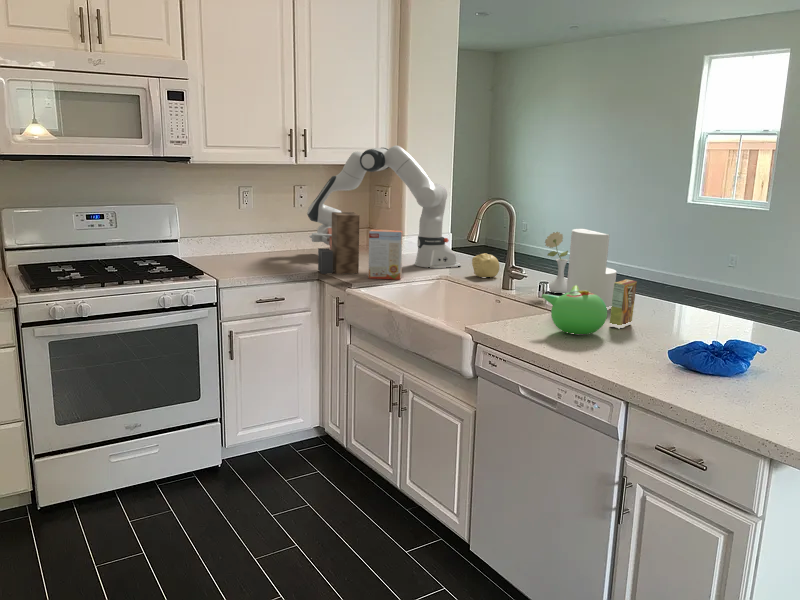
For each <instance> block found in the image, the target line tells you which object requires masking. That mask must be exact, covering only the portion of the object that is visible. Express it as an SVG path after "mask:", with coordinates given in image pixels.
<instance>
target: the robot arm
mask: <svg viewBox="0 0 800 600" xmlns="http://www.w3.org/2000/svg"><path fill="white" fill-rule="evenodd" d="M389 168H390V169H391V171H393V172H394V173H395V174H396V176H397V177H399V179H400V180H401V182H403V183H404V185H406V187H407V188H408V190H409V191H410V192H411V194H412V196H413V197H414V198H415V200H416V202H417V204H418V205H419V206H420V207H422V210H421V214H420V217H419V224H418V225H419V226H418V228H419V229H418V230H419V231H418V236H417V253H416V258H415V262H414V266H417V267H421V268H428V267H430V269H447V268H446V267H451V268H459V267H458V266H461V267H462V264H461V263H460V262H458V261H457V260H458V259H457V255H456V253H455V252H454V250H452V249H451V248H450V247H449V246H448V245H446V243H448V242H449V239H448V237H444V236H443V221H444V215H445V210H446V203H447V198H448V191H447V188H445V187H444V186H443V185H442V184H440V183H433V181H431V179H430V178H429V177H428V174H427V173H426V171H425V169H424V168H423V167H422V165H421V164H419V163H418V161H417V160H416V159H415V158H414V157H413V156H412V155H411V153H409V152H408V151H407V150H405V148H403V147H402V146H400V145H393V146H391V147H389V148H386V147H373V148H370V149H366V150H365V151H363V152H362V151H354V152H352V153H351V154H350V155H349V157H348V158H347V160H346V162H345V164H344V165H343V168H342V170H341V171H340V172H339V173H338V174H336V175H332V176H331V177H330V178H329V179H328V181H327V182H326V183H325V185H324V186H323V187H322V189H321V191H320V192H319V193H318V194H317V196H316V197H315V199H314V200H313V201H312V202H311V204H310V205H309V207H308V209H307V211H306V212H307V213H306V214H307V216H308V219H309V220H310V221H311V222H315V223H318V224H321V225H319V226H318V228H317V230H316V232H312V233H311V234H310V235H309V238H310V239H311V242H313V243H324V244H326V245H328V246H330V245H329V242H330V241H329V239H330V236H332V234H328V228H332V212H343V211H342V210H340V209H337V208H335V207H332V206H329V205H326V204H325V202H326V201H327V200H328V198H329V196H330V195H331V194H332V193H333V192H336V191H353V190H355V189H356V190H357V188H359V186H361V184H362V181H363V179H364V177H365V175H366V173H367V172H370V173H374V172H381V171H384V170H386V169H389Z"/></svg>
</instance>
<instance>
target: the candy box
mask: <svg viewBox="0 0 800 600" xmlns="http://www.w3.org/2000/svg"><path fill="white" fill-rule="evenodd" d="M637 283H638V281H637V280H632V279H626V278H625V279H622V280H620V281H615V283H614V290H613V298H612V307H611V310H610V317H609V323H612V324H617V325H622V324H626V323H628V322H631V321H632V322H633V315H634V309H635V299H636V294H637V293H636V292H637Z"/></svg>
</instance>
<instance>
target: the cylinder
mask: <svg viewBox="0 0 800 600" xmlns="http://www.w3.org/2000/svg"><path fill="white" fill-rule="evenodd" d="M609 242H610V234H608V233H604V232H599V231H595V230H590V229H586V228H573V229H571V237H570V246H569V247H570V248H569V258H568V269H567V270H568V272H567V280H566V281H567V291H566V293H568V292H570V291H571V289H572V288H573V286H575V285H577V286H578V288H579V290H582V291H589V292H591V293H593V294H595V295H597V296H599V297H600V298H601V299H602V300H603V302H604V303H605V305H606V307H609V306H612V298H613V290H614V283H615V282H617V281H616V280H617V279H616V278H617V270H616V269H614V268H610V267H607V263H608V253H609V246H610V245H609Z"/></svg>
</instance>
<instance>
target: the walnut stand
mask: <svg viewBox="0 0 800 600" xmlns="http://www.w3.org/2000/svg"><path fill="white" fill-rule="evenodd" d="M331 251H333V273H335V274H336V275H343V274H342V273H357V274H359V273H360V272H359V269H360V268H359V266H360V265H359V261H360V214H358V213H355V212H351V211H350V212H349V211H348V212H345V211H344V212H343V211H342V212H332V248H331Z"/></svg>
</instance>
